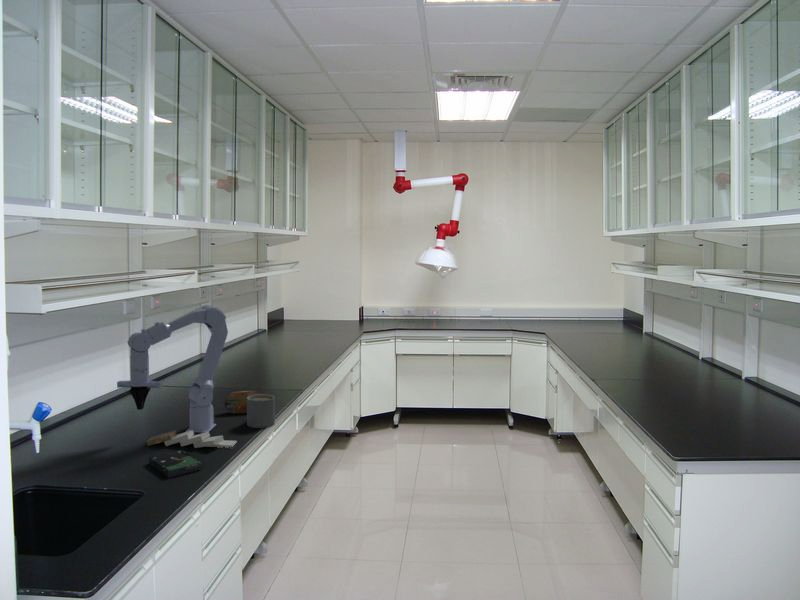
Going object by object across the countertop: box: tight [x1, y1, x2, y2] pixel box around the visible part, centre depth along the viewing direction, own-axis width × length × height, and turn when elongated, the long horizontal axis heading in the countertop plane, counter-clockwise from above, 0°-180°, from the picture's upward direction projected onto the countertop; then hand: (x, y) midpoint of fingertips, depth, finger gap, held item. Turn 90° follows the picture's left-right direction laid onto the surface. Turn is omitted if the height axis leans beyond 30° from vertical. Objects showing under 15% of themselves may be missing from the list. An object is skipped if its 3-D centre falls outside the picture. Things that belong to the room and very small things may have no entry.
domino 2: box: [179, 431, 211, 447], centre depth 201 cm, size 2×5×8 cm
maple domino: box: [146, 430, 178, 447], centre depth 201 cm, size 2×5×8 cm
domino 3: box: [192, 434, 225, 449], centre depth 199 cm, size 2×5×8 cm
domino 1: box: [163, 430, 195, 447], centre depth 202 cm, size 2×5×8 cm
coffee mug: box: [246, 393, 276, 429], centre depth 227 cm, size 13×10×10 cm
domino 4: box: [207, 439, 238, 449], centre depth 201 cm, size 2×5×8 cm
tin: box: [223, 390, 262, 415], centre depth 241 cm, size 15×3×8 cm, turn 111°
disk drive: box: [148, 449, 203, 479], centre depth 182 cm, size 10×3×15 cm
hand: (140, 408), depth 205 cm, fingers closed
